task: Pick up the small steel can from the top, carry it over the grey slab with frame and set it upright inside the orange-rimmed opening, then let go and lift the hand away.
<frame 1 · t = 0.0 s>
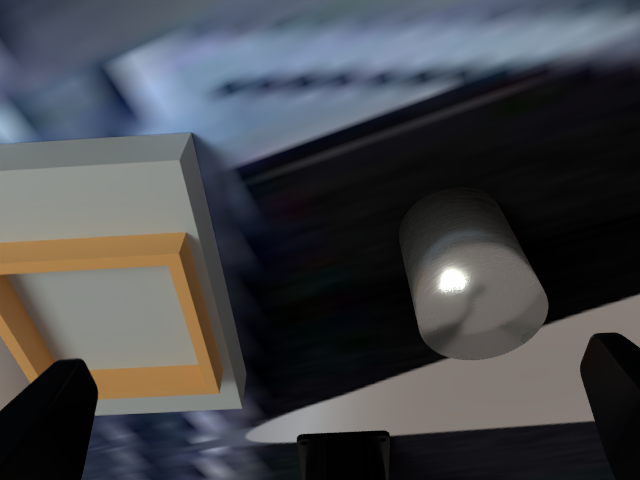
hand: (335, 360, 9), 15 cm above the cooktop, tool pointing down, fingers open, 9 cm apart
grey slab with frame: (126, 280, 27), on the cooktop
steel can: (450, 231, 26), on the cooktop
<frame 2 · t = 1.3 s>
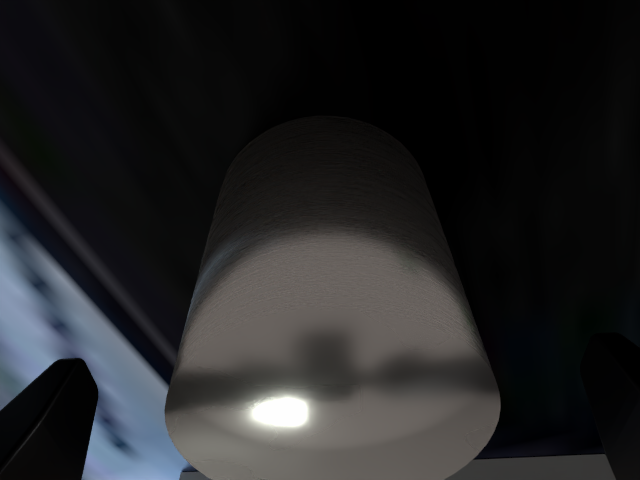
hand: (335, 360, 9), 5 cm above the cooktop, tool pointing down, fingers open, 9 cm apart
steel can: (324, 213, 13), on the cooktop
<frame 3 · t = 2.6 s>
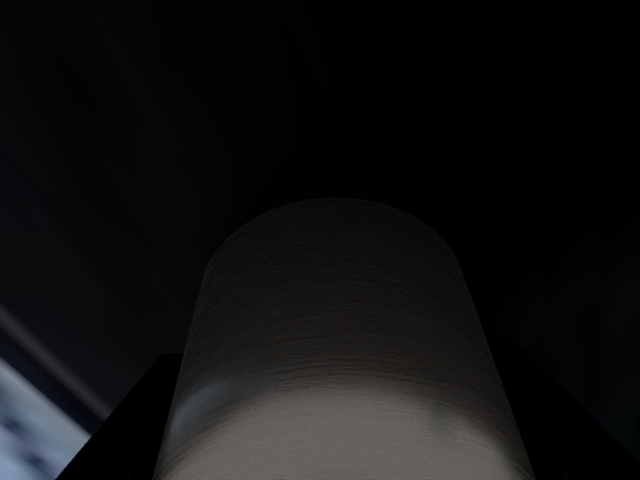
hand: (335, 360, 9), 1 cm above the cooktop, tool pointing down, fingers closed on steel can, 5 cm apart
steel can: (332, 307, 10), on the cooktop, touching gripper
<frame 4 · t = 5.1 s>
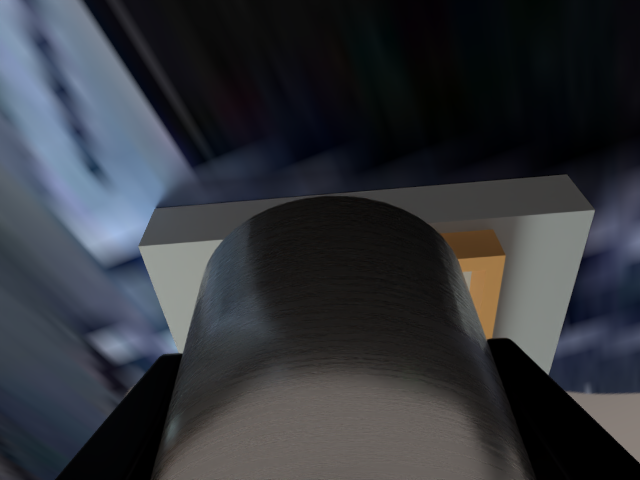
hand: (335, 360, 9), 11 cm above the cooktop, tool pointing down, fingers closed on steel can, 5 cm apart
grey slab with frame: (362, 288, 24), on the cooktop
steel can: (332, 306, 10), point 10 cm above the cooktop, touching gripper
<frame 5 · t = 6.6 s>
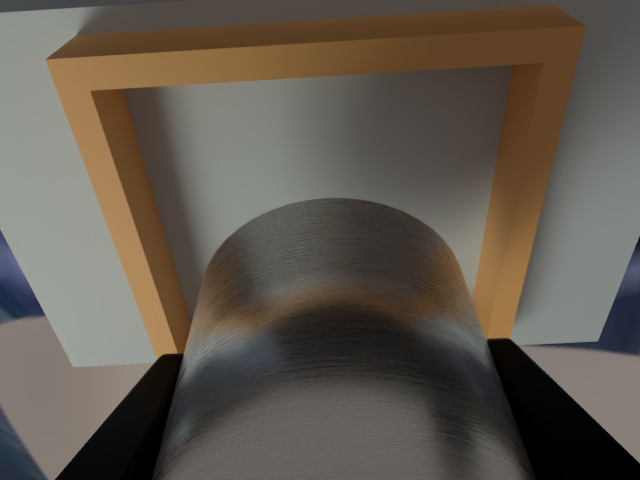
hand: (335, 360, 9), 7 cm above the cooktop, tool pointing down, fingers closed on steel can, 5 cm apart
grey slab with frame: (322, 168, 15), on the cooktop
steel can: (332, 308, 10), point 6 cm above the cooktop, touching gripper
when the fingers open (5 cm above the cooktop, at t = 7.8 s): steel can stays where it is, resting on grey slab with frame.
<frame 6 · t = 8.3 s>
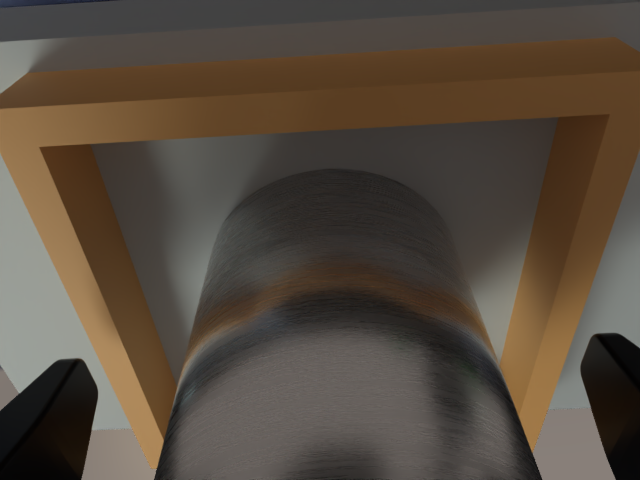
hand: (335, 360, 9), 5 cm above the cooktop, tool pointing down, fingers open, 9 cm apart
grey slab with frame: (327, 211, 13), on the cooktop
steel can: (332, 276, 11), point 3 cm above the cooktop, touching grey slab with frame
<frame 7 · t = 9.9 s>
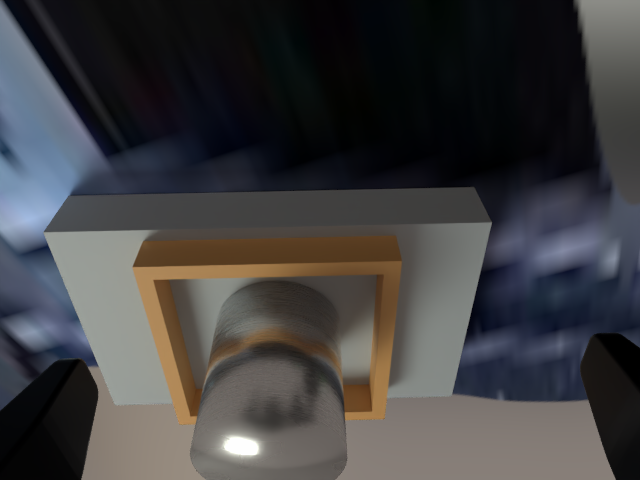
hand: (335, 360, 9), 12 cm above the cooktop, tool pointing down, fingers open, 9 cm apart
grey slab with frame: (279, 286, 24), on the cooktop
steel can: (278, 326, 22), point 3 cm above the cooktop, touching grey slab with frame
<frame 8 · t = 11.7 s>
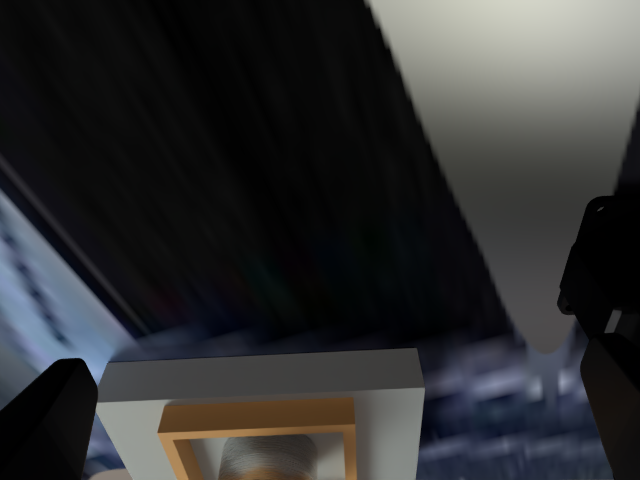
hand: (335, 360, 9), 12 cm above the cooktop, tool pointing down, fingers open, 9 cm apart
grey slab with frame: (272, 413, 30), on the cooktop
steel can: (270, 453, 28), point 3 cm above the cooktop, touching grey slab with frame
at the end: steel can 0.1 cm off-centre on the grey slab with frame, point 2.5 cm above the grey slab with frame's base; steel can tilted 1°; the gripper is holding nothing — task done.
